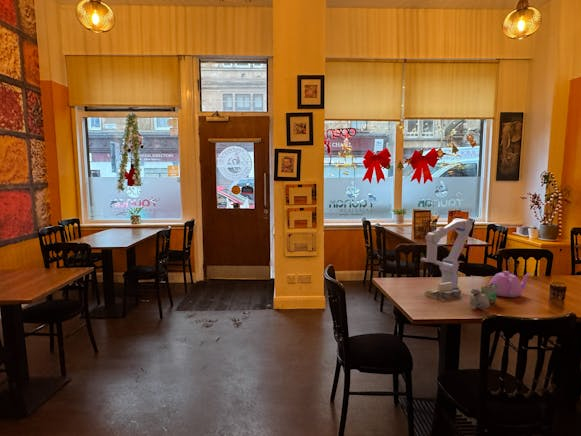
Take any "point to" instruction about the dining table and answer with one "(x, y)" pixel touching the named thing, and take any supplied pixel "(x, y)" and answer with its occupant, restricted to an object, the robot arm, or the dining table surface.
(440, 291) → the pad
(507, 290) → the teapot
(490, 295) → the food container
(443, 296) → the frame
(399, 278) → the dining table surface
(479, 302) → the grey lumpy figure
